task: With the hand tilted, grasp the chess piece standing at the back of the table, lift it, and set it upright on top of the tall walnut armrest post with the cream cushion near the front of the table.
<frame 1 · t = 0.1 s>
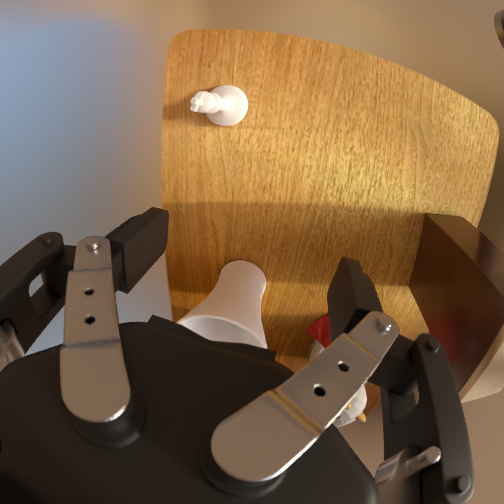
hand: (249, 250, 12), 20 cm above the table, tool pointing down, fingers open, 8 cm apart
chess piece: (226, 105, 27), on the table
figurine: (333, 342, 41), on the table
cup: (243, 279, 38), on the table
armrest: (436, 252, 30), on the table
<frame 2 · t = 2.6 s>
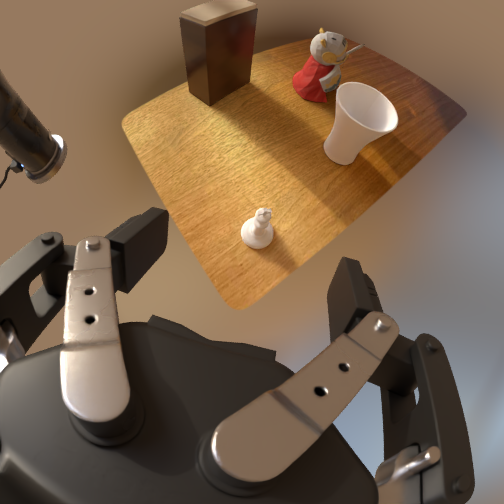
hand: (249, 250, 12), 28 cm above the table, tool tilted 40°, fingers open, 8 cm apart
chess piece: (257, 233, 42), on the table
figurine: (317, 86, 50), on the table
cup: (339, 150, 46), on the table
armrest: (219, 86, 48), on the table
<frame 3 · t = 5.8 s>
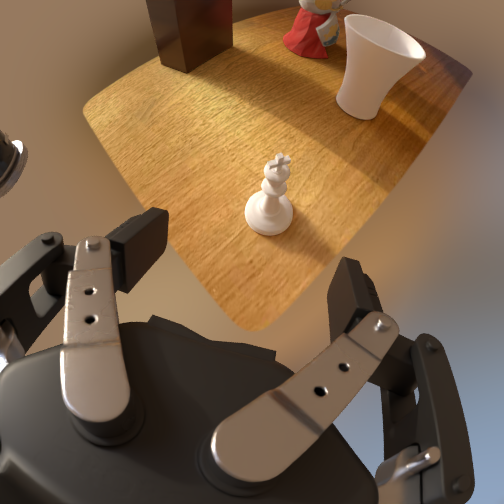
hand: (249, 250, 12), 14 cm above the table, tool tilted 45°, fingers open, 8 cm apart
chess piece: (268, 213, 28), on the table
figurine: (313, 44, 38), on the table
cup: (356, 105, 33), on the table
armrest: (197, 53, 36), on the table
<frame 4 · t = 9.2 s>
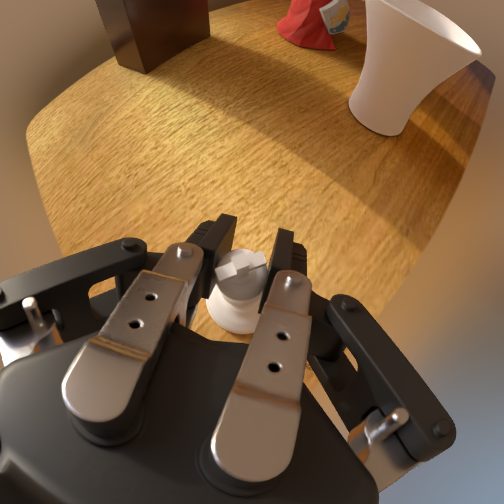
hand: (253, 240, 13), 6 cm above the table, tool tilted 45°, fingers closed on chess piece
chess piece: (242, 297, 18), on the table, touching gripper
figurine: (316, 33, 28), on the table
cup: (376, 114, 23), on the table
armrest: (164, 47, 26), on the table
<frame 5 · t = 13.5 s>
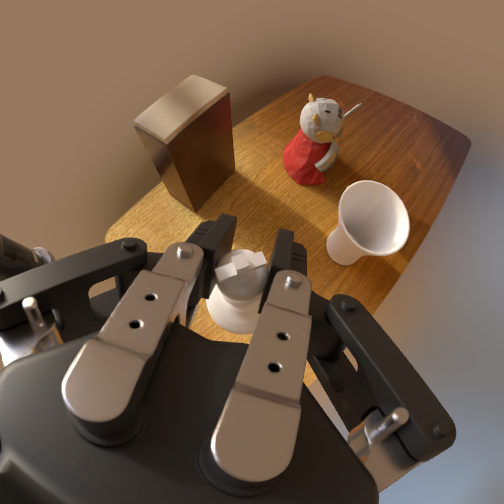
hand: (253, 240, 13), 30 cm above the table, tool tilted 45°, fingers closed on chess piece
chess piece: (243, 297, 18), point 24 cm above the table, touching gripper
figurine: (312, 159, 49), on the table
cup: (343, 247, 45), on the table
armrest: (202, 181, 48), on the table
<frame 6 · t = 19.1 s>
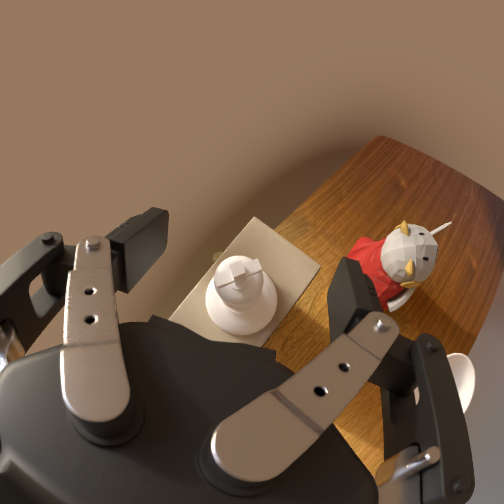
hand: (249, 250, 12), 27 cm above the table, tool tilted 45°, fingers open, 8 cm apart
chess piece: (241, 299, 19), point 20 cm above the table, touching armrest
figurine: (375, 275, 40), on the table
cup: (397, 381, 35), on the table
armrest: (244, 313, 38), on the table
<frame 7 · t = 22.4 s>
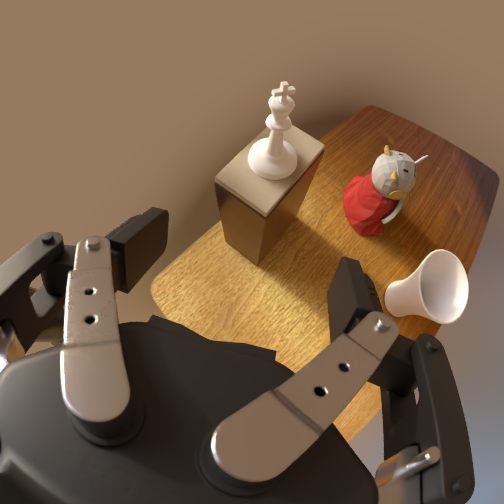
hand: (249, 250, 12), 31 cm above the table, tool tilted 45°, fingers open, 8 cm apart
chess piece: (272, 160, 26), point 20 cm above the table, touching armrest
figurine: (370, 206, 47), on the table
cup: (398, 299, 43), on the table
armrest: (261, 228, 45), on the table
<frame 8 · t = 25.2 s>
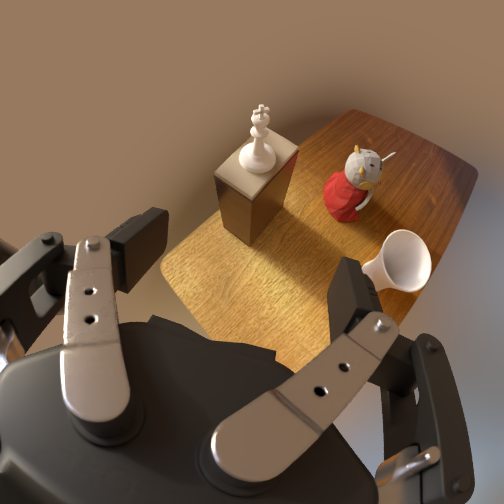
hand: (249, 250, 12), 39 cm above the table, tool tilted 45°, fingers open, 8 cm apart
chess piece: (257, 159, 35), point 20 cm above the table, touching armrest
figurine: (347, 197, 56), on the table
cup: (373, 276, 52), on the table
armrest: (253, 216, 54), on the table
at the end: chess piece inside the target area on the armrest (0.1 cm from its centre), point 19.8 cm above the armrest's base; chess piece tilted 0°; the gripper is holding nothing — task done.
